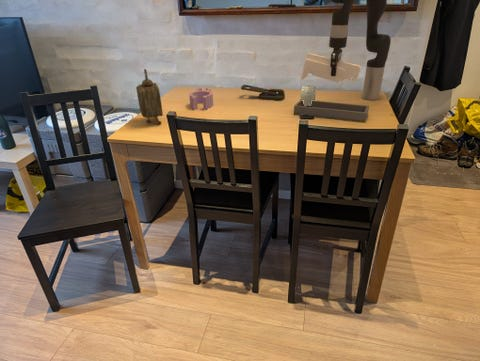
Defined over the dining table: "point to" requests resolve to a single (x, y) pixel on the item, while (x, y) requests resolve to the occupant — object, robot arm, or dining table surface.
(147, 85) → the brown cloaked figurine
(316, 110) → the grey rectangular tray
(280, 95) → the black elongated piece
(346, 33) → the robot arm
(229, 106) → the dining table surface
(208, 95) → the clip
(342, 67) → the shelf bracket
